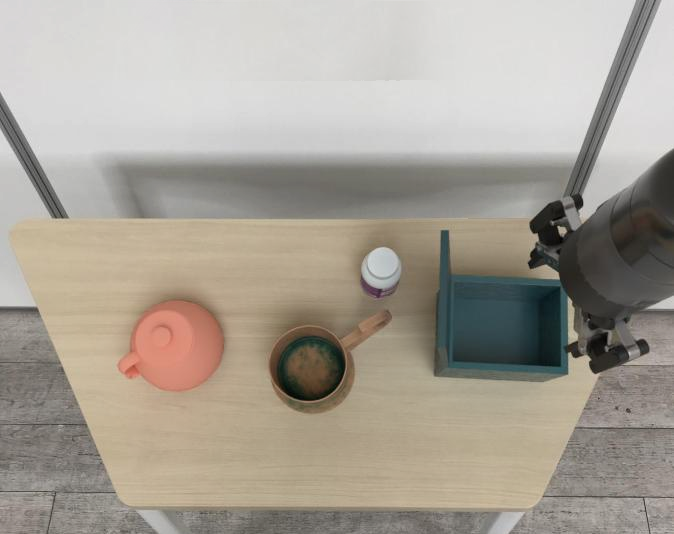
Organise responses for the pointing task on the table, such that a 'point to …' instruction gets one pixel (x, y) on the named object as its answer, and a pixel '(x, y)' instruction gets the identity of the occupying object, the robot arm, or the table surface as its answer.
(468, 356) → the teal storage bin
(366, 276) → the pill bottle
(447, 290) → the lid
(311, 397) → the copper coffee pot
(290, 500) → the table surface
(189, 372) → the sugar bowl
